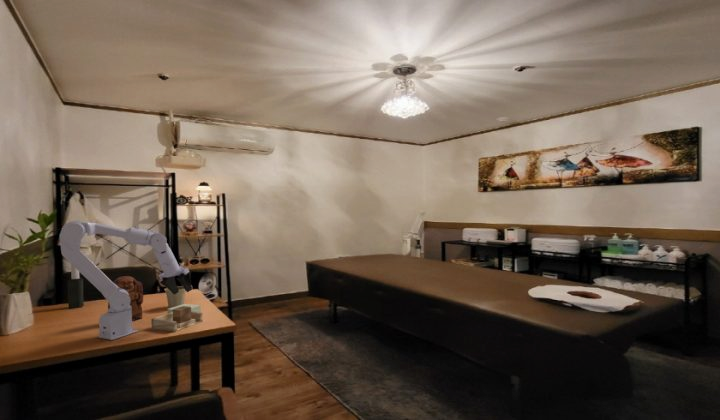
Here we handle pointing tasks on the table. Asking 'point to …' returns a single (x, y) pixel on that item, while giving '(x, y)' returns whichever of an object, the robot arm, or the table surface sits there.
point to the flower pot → (175, 297)
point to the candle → (75, 290)
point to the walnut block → (182, 314)
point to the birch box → (174, 322)
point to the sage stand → (193, 307)
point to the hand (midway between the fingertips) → (182, 292)
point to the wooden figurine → (132, 294)
